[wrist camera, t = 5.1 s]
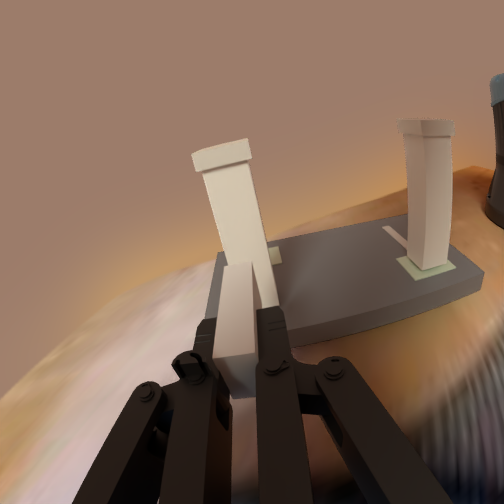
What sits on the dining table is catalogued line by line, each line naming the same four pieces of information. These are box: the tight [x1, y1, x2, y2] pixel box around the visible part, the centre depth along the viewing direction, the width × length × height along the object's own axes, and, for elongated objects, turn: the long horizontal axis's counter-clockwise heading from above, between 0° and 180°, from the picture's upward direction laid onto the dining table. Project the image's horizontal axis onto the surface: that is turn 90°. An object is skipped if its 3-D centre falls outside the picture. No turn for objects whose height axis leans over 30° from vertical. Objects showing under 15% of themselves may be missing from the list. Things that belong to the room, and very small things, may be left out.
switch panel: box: [205, 214, 485, 348], centre depth 26 cm, size 26×16×2 cm, turn 91°
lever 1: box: [192, 138, 279, 308], centre depth 20 cm, size 4×4×13 cm
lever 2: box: [397, 118, 455, 271], centre depth 19 cm, size 4×4×13 cm
